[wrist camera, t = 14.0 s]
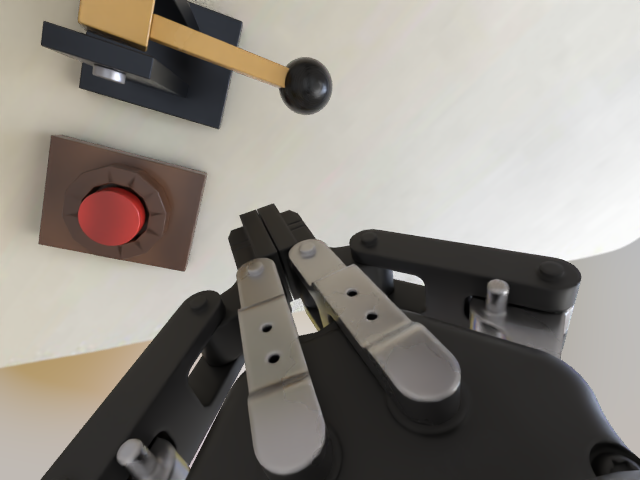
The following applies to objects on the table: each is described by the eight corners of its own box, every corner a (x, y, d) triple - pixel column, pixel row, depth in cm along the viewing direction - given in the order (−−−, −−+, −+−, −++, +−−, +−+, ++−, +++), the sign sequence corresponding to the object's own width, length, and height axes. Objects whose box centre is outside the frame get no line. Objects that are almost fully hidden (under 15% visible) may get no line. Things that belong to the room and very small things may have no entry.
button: (150, 194, 28) (144, 199, 26) (140, 244, 29) (134, 251, 27) (91, 180, 27) (81, 184, 25) (83, 232, 28) (73, 239, 26)
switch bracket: (242, 25, 29) (244, -52, 16) (219, 129, 31) (205, 130, 18) (101, -28, 26) (-28, -169, 14) (85, 89, 28) (-41, 58, 15)
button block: (207, 173, 31) (203, 178, 28) (187, 265, 33) (181, 281, 30) (60, 134, 28) (36, 135, 25) (47, 238, 30) (23, 252, 27)
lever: (324, 70, 24) (348, 67, 21) (311, 120, 25) (332, 123, 22) (92, -28, 18) (84, -51, 15) (83, 42, 19) (73, 32, 16)
